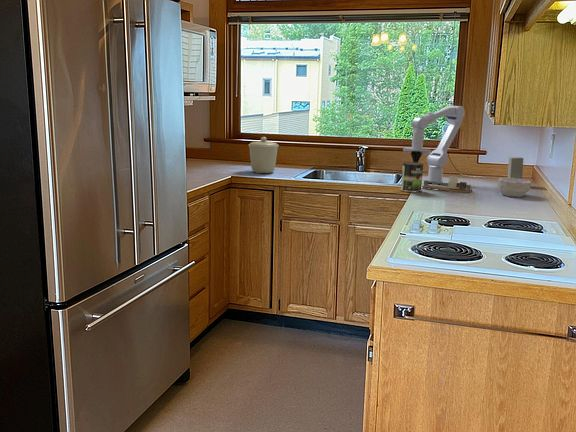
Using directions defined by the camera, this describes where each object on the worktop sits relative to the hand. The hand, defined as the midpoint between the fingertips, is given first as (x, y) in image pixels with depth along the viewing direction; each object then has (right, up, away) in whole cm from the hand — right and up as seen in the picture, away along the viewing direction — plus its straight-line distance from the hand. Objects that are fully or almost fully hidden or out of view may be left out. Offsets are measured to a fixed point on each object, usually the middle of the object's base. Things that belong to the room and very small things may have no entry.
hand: (415, 165), depth 296 cm
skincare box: (+57, -10, +9) cm, 58 cm away
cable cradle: (+14, -13, -9) cm, 21 cm away
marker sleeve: (+17, -12, -11) cm, 23 cm away
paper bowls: (+44, -17, -20) cm, 51 cm away
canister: (-83, -1, +32) cm, 89 cm away
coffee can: (-6, -14, -14) cm, 21 cm away
